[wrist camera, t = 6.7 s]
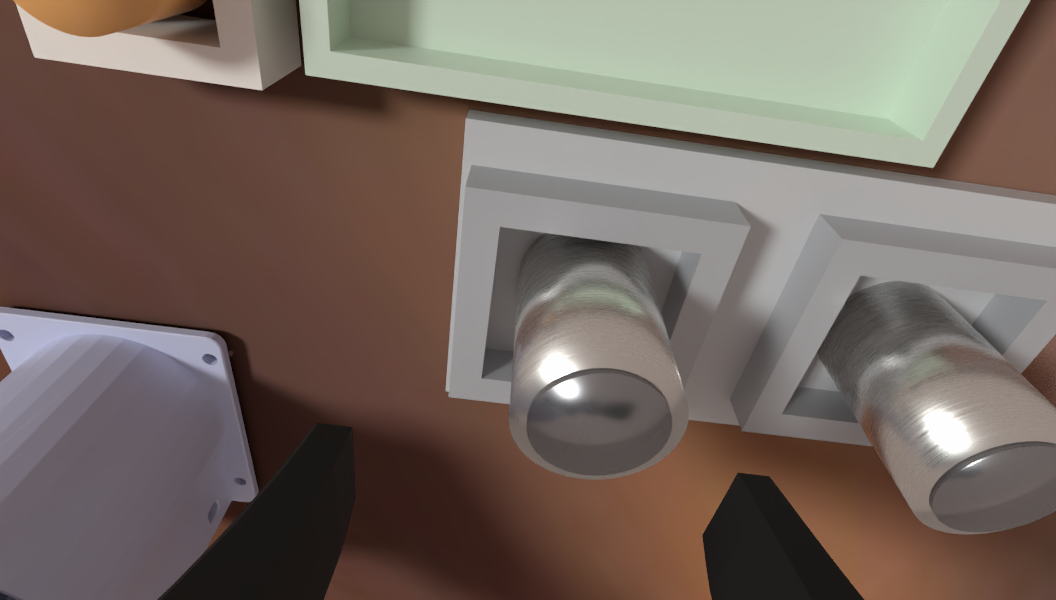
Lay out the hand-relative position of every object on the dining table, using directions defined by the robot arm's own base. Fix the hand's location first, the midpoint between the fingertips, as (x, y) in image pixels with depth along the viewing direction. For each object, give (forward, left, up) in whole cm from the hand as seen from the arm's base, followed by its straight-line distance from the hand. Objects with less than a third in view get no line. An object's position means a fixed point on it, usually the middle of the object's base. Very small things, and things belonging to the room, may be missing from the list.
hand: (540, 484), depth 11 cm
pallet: (-1, -6, -9) cm, 11 cm away
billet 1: (0, -1, -8) cm, 8 cm away
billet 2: (-1, -11, -8) cm, 14 cm away
